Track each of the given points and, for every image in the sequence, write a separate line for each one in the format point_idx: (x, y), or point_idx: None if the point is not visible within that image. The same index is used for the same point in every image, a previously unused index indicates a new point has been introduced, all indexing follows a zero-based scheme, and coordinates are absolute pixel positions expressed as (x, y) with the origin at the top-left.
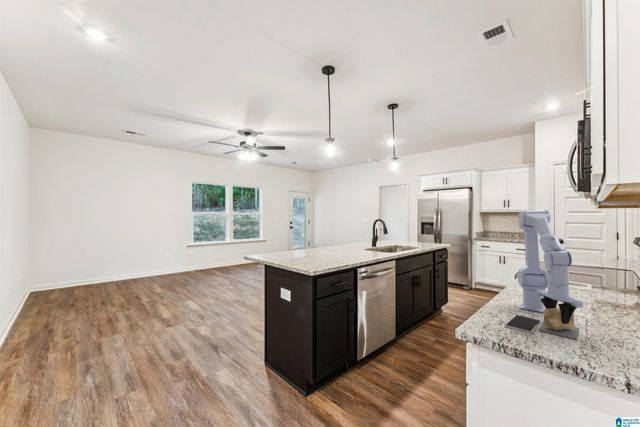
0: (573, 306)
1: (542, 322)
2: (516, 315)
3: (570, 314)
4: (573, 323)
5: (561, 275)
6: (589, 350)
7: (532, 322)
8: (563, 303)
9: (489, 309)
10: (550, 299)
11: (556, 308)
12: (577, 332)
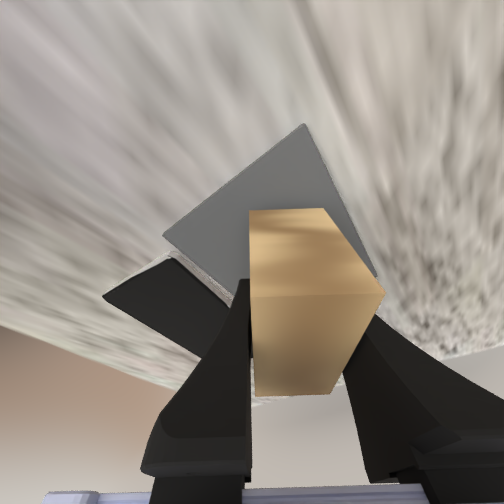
0: (489, 451)
1: (195, 263)
2: (109, 302)
3: (379, 330)
4: (332, 226)
5: None
6: (429, 299)
7: (201, 303)
8: (402, 482)
9: (31, 328)
10: (243, 478)
11: (264, 347)
12: (343, 212)
